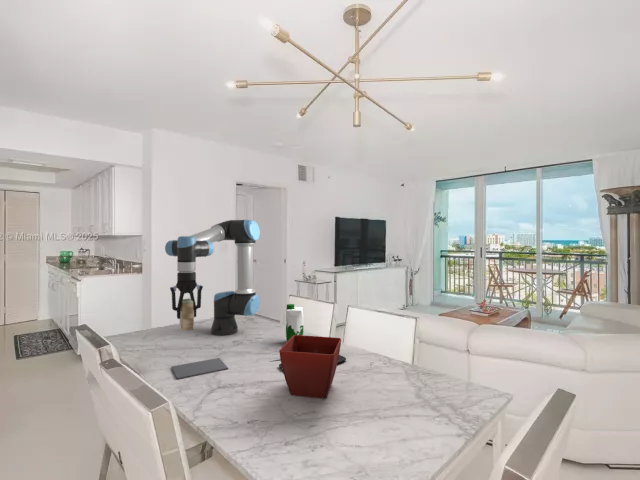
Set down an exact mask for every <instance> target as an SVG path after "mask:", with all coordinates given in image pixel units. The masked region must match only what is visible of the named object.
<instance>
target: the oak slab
mask: <svg viewBox="0 0 640 480" xmlns="http://www.w3.org/2000/svg"><path fill="white" fill-rule="evenodd" d="M181 311H182V327H180V329H182V331H183V332H187V331H193V330H194V325H193V301H192V300H191V298H190V297H189V298H183V301H182V306H181Z"/></svg>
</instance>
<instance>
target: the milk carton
mask: <svg viewBox="0 0 640 480" xmlns="http://www.w3.org/2000/svg"><path fill="white" fill-rule="evenodd" d="M303 309H304V307H298V306H295V304H294V303H288V304H286V310H285V339H286V340H285V341H286V343H287V342H288V341H289V339H290V338H291V337H292V336H293V335H304V311H303Z"/></svg>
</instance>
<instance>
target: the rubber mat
mask: <svg viewBox="0 0 640 480" xmlns="http://www.w3.org/2000/svg"><path fill="white" fill-rule="evenodd" d="M170 368H171V370H172V372H173V374H174V377H175V379H176V380H182V379H188V378H191V377H197V376H200V375H201V376H202V375H206V374H207V375H208V374H211V373H217V372H220V371H226V370H229V367H228V366H227V364H226V363H224V361H223V360H222V359H221V358H220V357H217V358H211V359H205V360H199V361H194V362H189V363H184V364H183V363H182V364H178V365H171V367H170Z"/></svg>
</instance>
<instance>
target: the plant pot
mask: <svg viewBox="0 0 640 480" xmlns="http://www.w3.org/2000/svg"><path fill="white" fill-rule="evenodd" d="M341 345H342V338H341V337H330V336H318V335H317V336H316V335H315V336H314V335H304V334H303V335H293V336H292V337H291V338H290V339H289V341H288V342H287V341H286V343H284V345H282V347H281V348H280V349H279V351H278V352H279V358H280V359H281V360H280V364H281V365H282V368H281V370H282V372H283V375H284V379H285V383H286V385H287V390H288V392H289V394H290V396H294V397H303V398H313V399H321V400H324V399H326V398H327V397H328V395H329V392H330V389H331V387H332V384H333V381H334V378H335V374H336V371H337V366H338V364H339V363H338V358H339V355H340V352H341Z"/></svg>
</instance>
